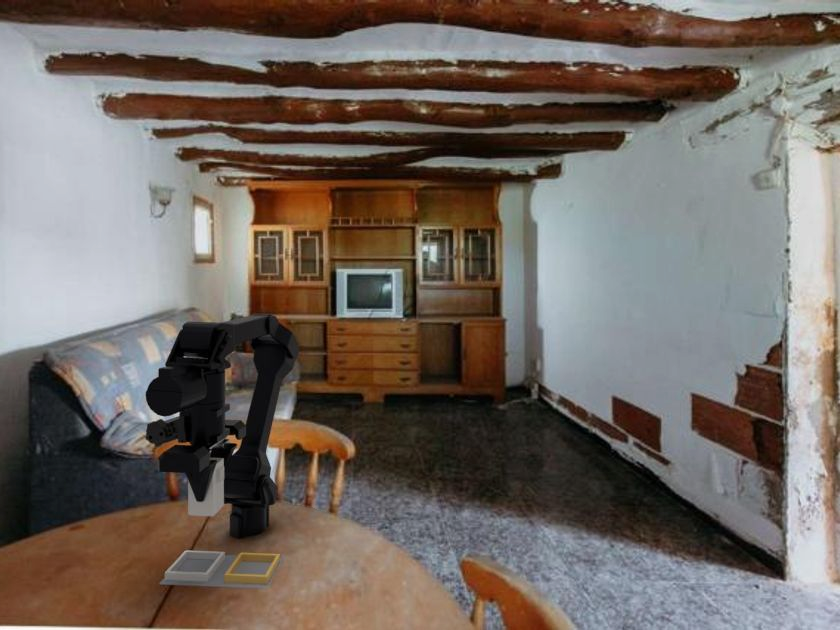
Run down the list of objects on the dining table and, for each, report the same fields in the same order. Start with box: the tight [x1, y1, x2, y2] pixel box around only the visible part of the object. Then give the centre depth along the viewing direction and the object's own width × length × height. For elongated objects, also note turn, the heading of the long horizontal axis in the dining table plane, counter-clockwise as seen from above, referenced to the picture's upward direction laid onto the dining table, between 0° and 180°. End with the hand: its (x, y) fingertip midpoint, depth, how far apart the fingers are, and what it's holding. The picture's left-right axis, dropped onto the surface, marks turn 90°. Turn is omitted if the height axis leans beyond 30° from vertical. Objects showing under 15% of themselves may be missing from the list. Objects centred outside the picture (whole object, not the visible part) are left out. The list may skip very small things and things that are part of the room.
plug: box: [187, 458, 225, 517], centre depth 85 cm, size 5×4×8 cm
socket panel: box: [158, 550, 285, 590], centre depth 86 cm, size 17×9×2 cm, turn 88°
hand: (206, 495), depth 85 cm, fingers closed on plug, 4 cm apart
